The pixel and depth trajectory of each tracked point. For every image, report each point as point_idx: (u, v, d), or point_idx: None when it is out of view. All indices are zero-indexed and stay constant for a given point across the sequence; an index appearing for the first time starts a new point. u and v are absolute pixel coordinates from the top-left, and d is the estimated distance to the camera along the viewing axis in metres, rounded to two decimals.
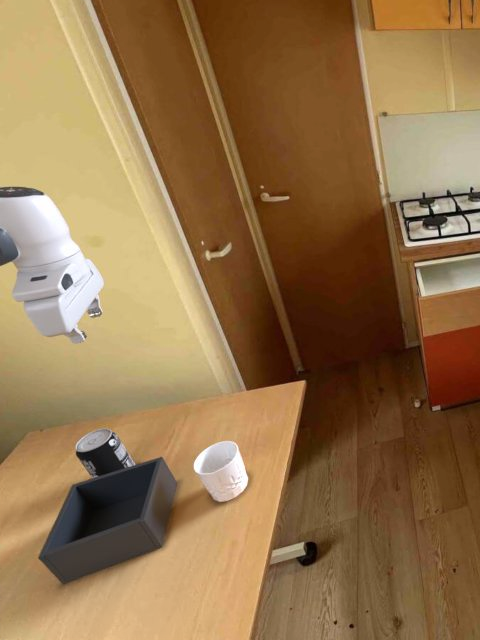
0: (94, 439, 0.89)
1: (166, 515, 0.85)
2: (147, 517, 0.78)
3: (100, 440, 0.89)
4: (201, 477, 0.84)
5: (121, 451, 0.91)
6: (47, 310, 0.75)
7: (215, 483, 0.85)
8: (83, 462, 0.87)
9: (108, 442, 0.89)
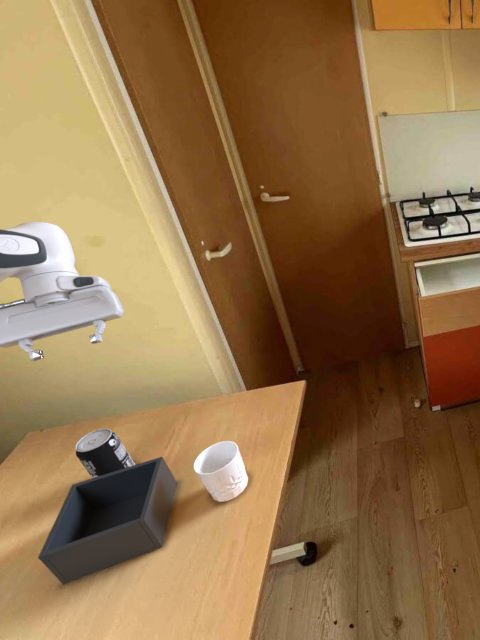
0: (94, 439, 0.89)
1: (166, 515, 0.85)
2: (147, 517, 0.78)
3: (100, 440, 0.89)
4: (201, 477, 0.84)
5: (121, 451, 0.91)
6: (115, 294, 0.97)
7: (215, 483, 0.85)
8: (83, 462, 0.87)
9: (108, 442, 0.89)
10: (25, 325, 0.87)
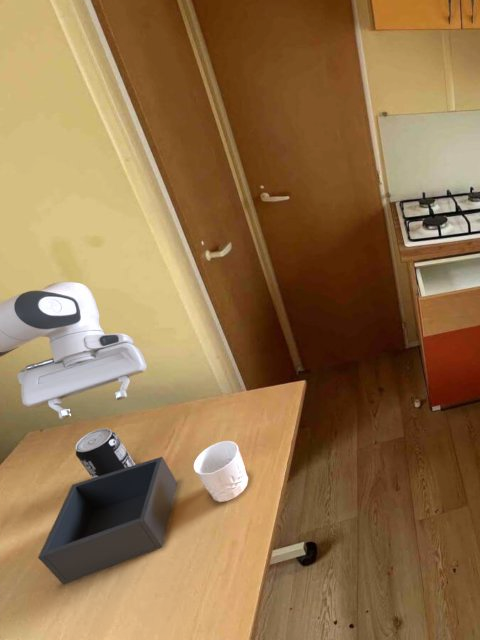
0: (94, 439, 0.89)
1: (166, 515, 0.85)
2: (147, 517, 0.78)
3: (100, 440, 0.89)
4: (201, 477, 0.84)
5: (121, 451, 0.91)
6: (138, 349, 1.01)
7: (215, 483, 0.85)
8: (83, 462, 0.87)
9: (108, 442, 0.89)
10: (55, 385, 0.91)
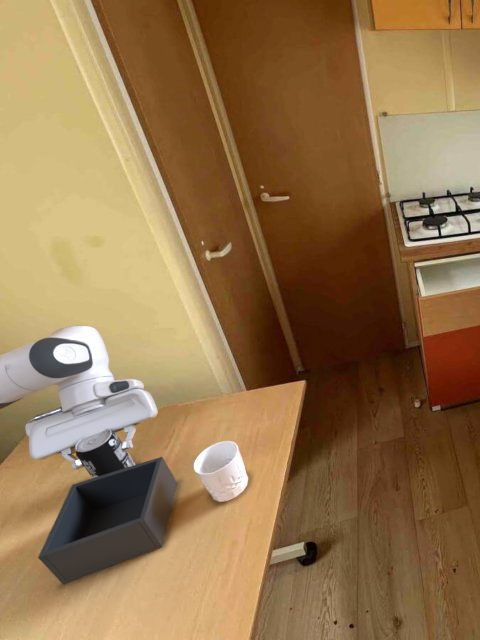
0: (94, 439, 0.89)
1: (166, 515, 0.85)
2: (147, 517, 0.78)
3: (100, 440, 0.89)
4: (201, 477, 0.84)
5: (121, 451, 0.91)
6: (149, 394, 0.98)
7: (215, 483, 0.85)
8: (83, 462, 0.87)
9: (108, 442, 0.89)
10: (63, 436, 0.88)
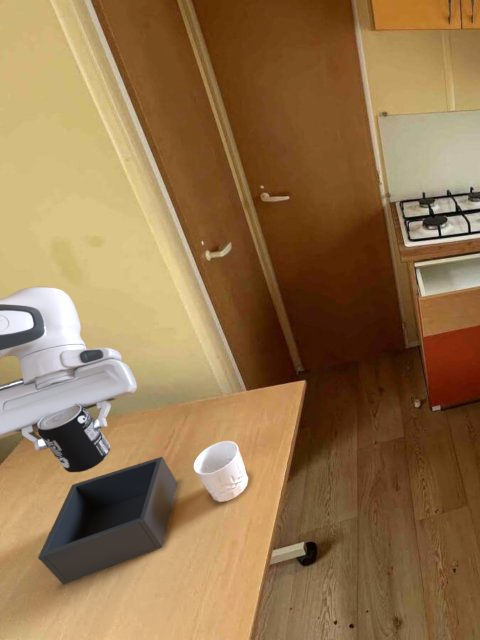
0: (60, 415, 0.76)
1: (166, 515, 0.85)
2: (147, 517, 0.78)
3: (67, 416, 0.76)
4: (201, 477, 0.84)
5: (93, 430, 0.79)
6: (127, 366, 0.85)
7: (215, 483, 0.85)
8: (47, 442, 0.74)
9: (76, 419, 0.76)
10: (24, 412, 0.75)
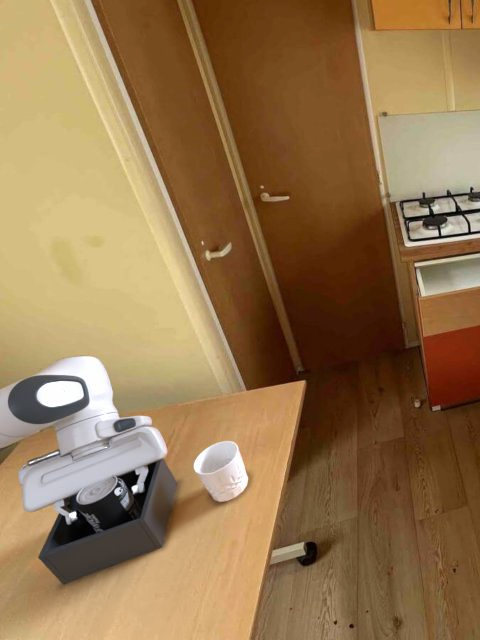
0: (98, 487, 0.79)
1: (166, 515, 0.85)
2: (147, 517, 0.78)
3: (105, 489, 0.78)
4: (201, 477, 0.84)
5: (128, 500, 0.81)
6: (157, 431, 0.87)
7: (215, 483, 0.85)
8: (85, 515, 0.77)
9: (113, 492, 0.78)
10: (61, 484, 0.77)
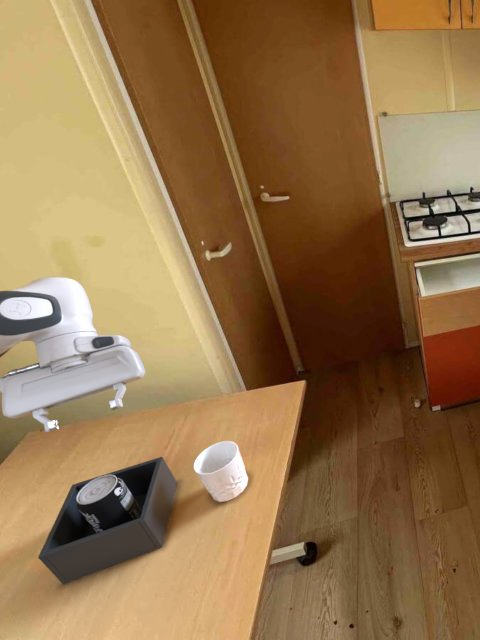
0: (98, 487, 0.79)
1: (166, 515, 0.85)
2: (147, 517, 0.78)
3: (104, 489, 0.78)
4: (201, 477, 0.84)
5: (128, 500, 0.81)
6: (136, 352, 0.90)
7: (215, 483, 0.85)
8: (85, 515, 0.77)
9: (113, 492, 0.78)
10: (40, 393, 0.80)
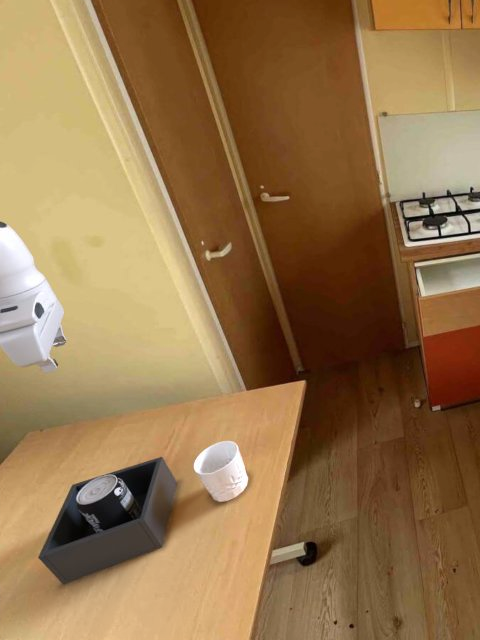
0: (98, 487, 0.79)
1: (166, 515, 0.85)
2: (147, 517, 0.78)
3: (104, 489, 0.78)
4: (201, 477, 0.84)
5: (128, 500, 0.81)
6: (22, 340, 0.75)
7: (215, 483, 0.85)
8: (85, 515, 0.77)
9: (113, 492, 0.78)
10: None
